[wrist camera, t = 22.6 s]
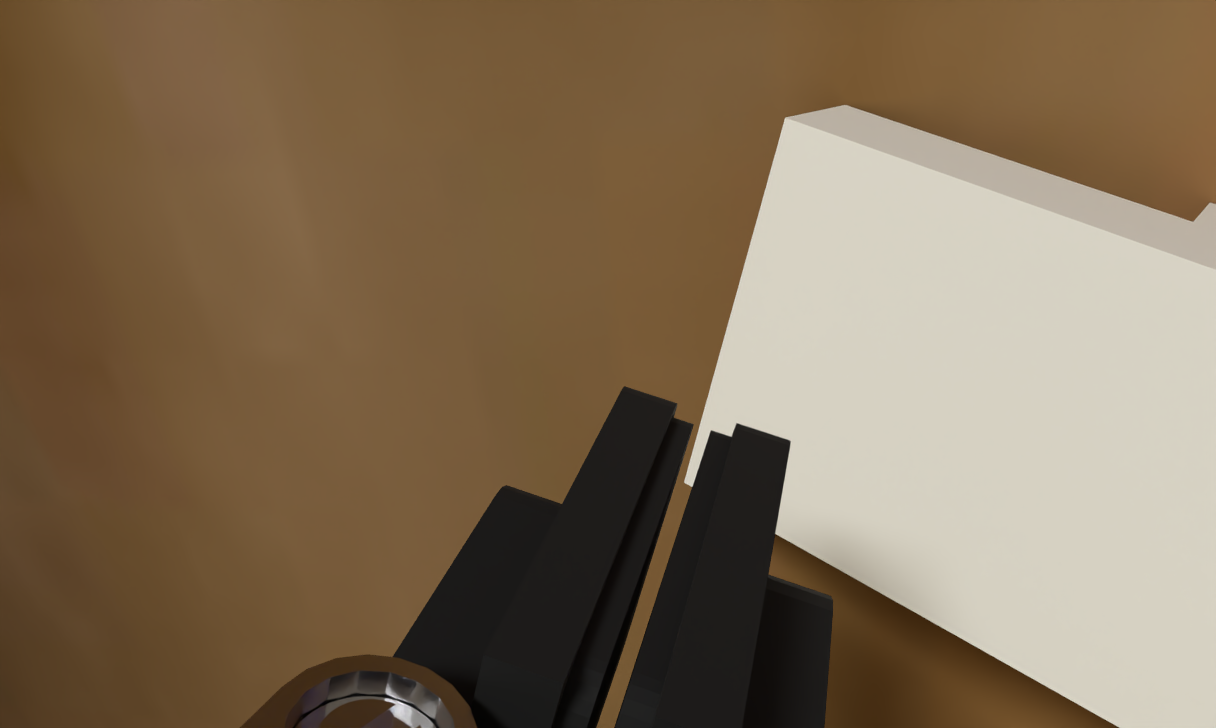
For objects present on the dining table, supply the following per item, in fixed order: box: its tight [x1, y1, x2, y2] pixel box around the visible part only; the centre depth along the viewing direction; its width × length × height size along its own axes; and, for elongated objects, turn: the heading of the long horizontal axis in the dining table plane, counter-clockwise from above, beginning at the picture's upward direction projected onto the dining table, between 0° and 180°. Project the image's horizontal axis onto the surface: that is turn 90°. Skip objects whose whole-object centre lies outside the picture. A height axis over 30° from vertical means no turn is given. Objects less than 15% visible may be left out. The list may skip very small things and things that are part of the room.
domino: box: [684, 105, 1216, 728], centre depth 14 cm, size 2×6×11 cm
